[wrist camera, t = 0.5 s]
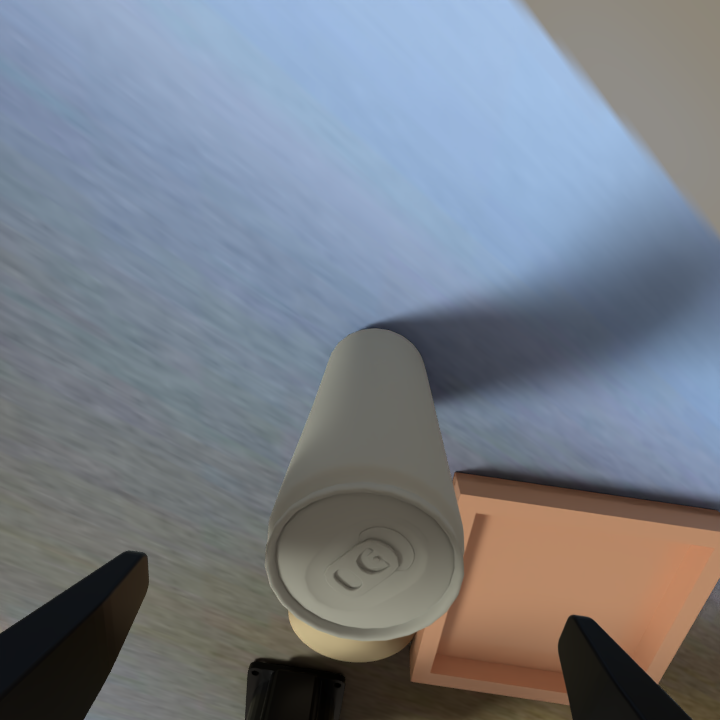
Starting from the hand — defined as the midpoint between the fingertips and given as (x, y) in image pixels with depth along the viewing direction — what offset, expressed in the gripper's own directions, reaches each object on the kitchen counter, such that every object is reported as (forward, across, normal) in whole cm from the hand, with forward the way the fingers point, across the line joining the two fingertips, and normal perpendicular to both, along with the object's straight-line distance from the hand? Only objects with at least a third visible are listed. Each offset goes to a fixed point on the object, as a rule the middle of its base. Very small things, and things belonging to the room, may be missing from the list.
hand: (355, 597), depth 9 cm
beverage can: (+13, 0, 0) cm, 13 cm away
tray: (+13, -12, +12) cm, 21 cm away
